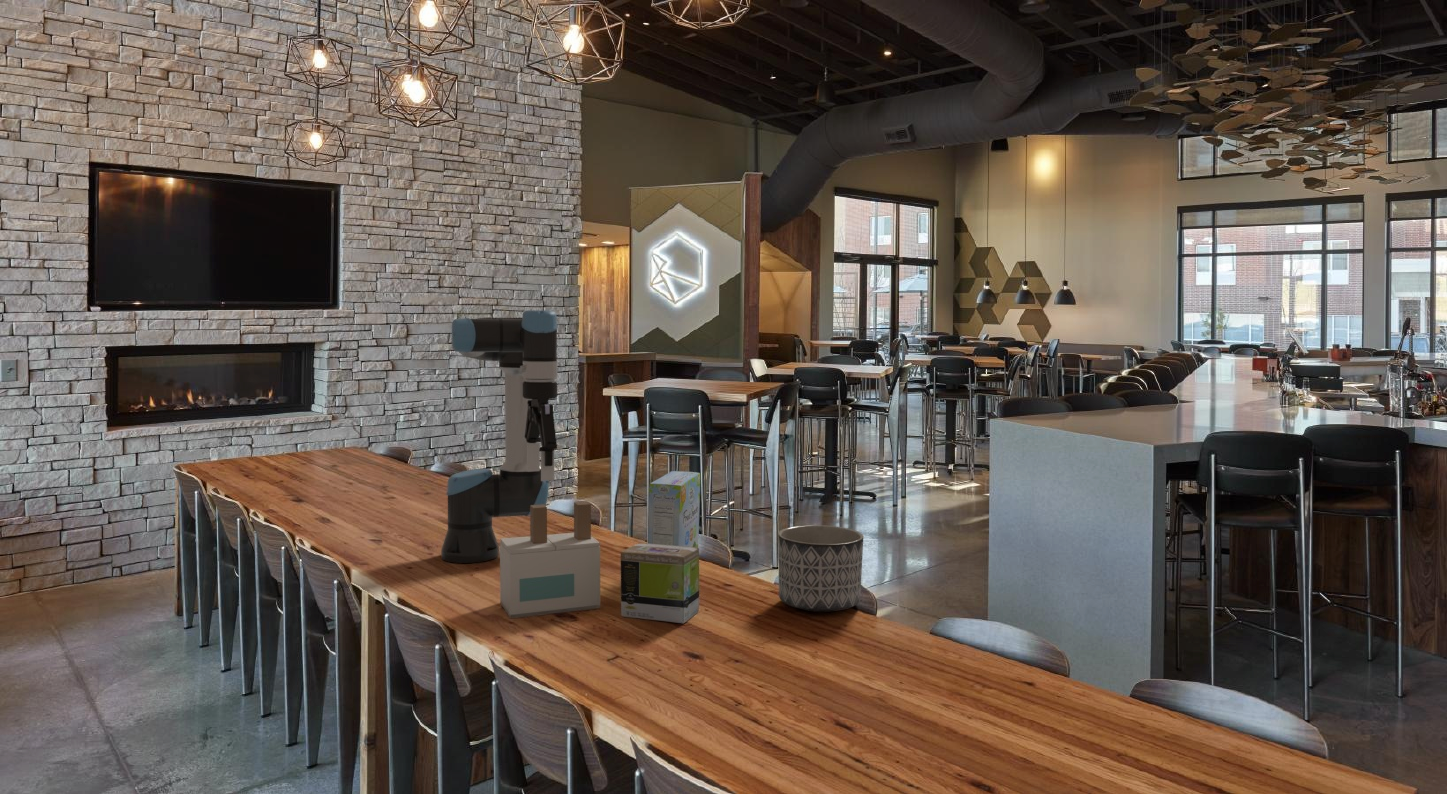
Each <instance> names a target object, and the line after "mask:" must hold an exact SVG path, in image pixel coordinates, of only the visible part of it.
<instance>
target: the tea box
mask: <svg viewBox="0 0 1447 794" xmlns="http://www.w3.org/2000/svg"><path fill="white" fill-rule="evenodd" d="M699 612H700V547H699V546H698V547H686V546H673V545H661V544H648V542H647V543H646V542H645V543H644V542H638V543H636V544H634V545H632V546H630V547H627V548H626V549H623V550H622V551H621V552H620V613H621V615H620V616H621V617H624V618H630V619H631V618H632V619H640V620H641V619H642V620H651V621H659V622H668V623H677V624H685V623H686V622H688V621H689V620H690V619H691V618H693V617H694V616H695V615H697V613H699Z"/></svg>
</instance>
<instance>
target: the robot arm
mask: <svg viewBox="0 0 1447 794" xmlns="http://www.w3.org/2000/svg"><path fill="white" fill-rule="evenodd" d="M558 326H559V325H558V317H557V313H556V312H555V311H554V310H532V309H531V310H524V311H523V313H522V316H521V317H491V316H490V317H489V316H488V317H477V318H469V317H467V318H466V317H465V318H455V319H453V320H452V322H451V347H452V350H453V351H454V352H456V353H459V354H461V355H462V356H464V357H467V358H470V359H474V360H479V361H485V362H487V361H488V362H498V368H499V369H500V370H501V371H502V372H503V373H504V401H505V402H504V406H505V408H504V409H505V410H504V411H505V413H504V415H505V416H504V419H505V424H504V425H505V426H504V427H505V428H504V429H505V430H504V431H505V438H504V440H505V444H504V445H505V462H504V463H502V464H501V465H500V467H499V473H498V474H494V473H493V472H492V470H491V468H476V469H475V468H474V469H470V470H463V471H459V472H457V473H454V474H452V475H451V476H449V478H448V479H447V488H446V489H447V490H446V496H447V530H446V535H445V537H444V540H443V543H442V547H441V550H440V551H441V552H440V554H441V556H440V557H441V560H443V561H445V562H448V563H454V564H455V563H456V564H474V563H481V562H486V561H491V560H495V559H496V558H498V557H500V545H499V544H498V541H497V537H496V535H495V532H494V529H493V518H502V517H503V518H505V517H523V516H524V517H530V505H541V504H544V505H545V506H546V507H547V503H548V497H549V488H550V481H551V482H553V481H555V450H556V449H558V444H557V436H556V428H555V417H554V405H553V404H549V400H552V399H556V398H557V397H558V382H557V381H555V380H557V379H558V358H557V357H558V356H557V355H558V354H557V353H558V351H557V349H558V347H557V346H558V344H557V343H558ZM540 443H541V445H540Z"/></svg>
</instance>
